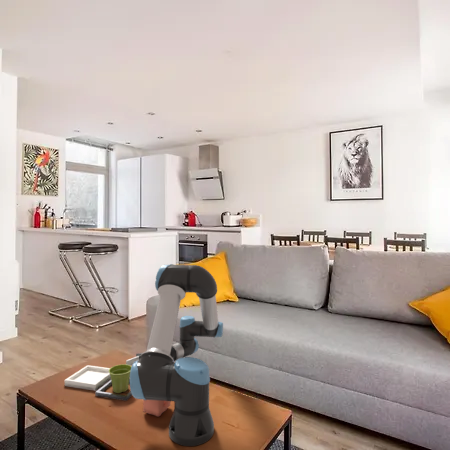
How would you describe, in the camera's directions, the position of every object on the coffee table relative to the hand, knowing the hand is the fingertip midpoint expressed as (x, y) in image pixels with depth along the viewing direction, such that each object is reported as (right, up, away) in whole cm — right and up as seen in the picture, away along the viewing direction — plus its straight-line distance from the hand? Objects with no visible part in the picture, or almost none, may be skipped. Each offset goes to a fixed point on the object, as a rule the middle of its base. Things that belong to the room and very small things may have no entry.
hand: (135, 368), depth 143 cm
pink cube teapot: (+13, -7, -21) cm, 26 cm away
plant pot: (-5, -7, -6) cm, 10 cm away
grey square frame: (-5, -6, -6) cm, 10 cm away
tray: (-20, -6, +2) cm, 21 cm away
